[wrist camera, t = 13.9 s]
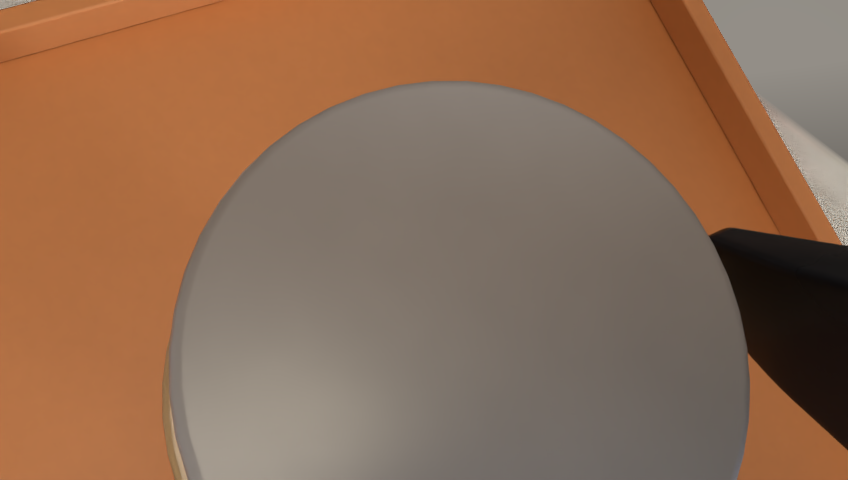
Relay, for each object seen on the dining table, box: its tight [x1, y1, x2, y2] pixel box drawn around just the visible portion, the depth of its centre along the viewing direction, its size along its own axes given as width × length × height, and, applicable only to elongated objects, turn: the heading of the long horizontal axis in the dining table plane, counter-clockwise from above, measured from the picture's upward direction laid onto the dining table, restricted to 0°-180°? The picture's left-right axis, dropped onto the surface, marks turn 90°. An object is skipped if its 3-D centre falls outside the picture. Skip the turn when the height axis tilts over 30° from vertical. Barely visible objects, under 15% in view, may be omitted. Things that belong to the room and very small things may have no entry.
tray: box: [0, 0, 848, 480], centre depth 17 cm, size 23×27×2 cm
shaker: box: [162, 81, 750, 480], centre depth 11 cm, size 5×5×13 cm
